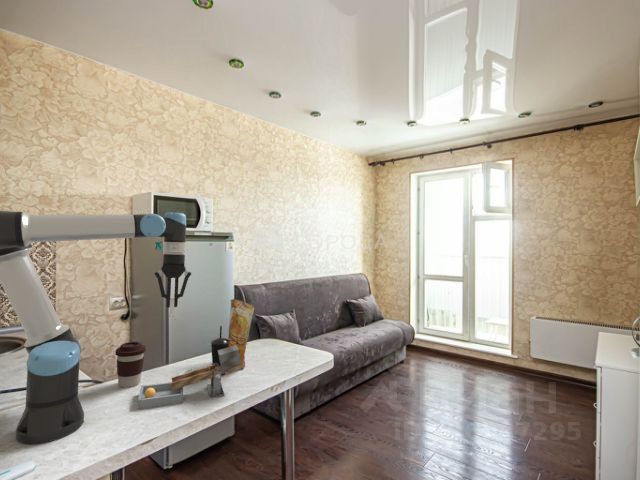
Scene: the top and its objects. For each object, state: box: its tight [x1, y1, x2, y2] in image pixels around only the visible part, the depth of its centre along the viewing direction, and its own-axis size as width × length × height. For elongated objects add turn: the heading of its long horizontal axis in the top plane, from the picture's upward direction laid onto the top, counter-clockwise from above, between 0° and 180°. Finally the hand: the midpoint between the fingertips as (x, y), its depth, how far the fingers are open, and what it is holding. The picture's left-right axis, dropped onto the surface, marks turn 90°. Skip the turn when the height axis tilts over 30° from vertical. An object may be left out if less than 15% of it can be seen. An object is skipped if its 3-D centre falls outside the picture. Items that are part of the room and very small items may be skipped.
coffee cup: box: [115, 341, 147, 388], centre depth 125 cm, size 10×10×15 cm
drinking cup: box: [210, 325, 230, 377], centre depth 137 cm, size 8×8×20 cm
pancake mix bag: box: [227, 298, 256, 370], centre depth 150 cm, size 7×19×28 cm, turn 40°
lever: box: [171, 345, 242, 390], centre depth 123 cm, size 24×11×7 cm, turn 113°
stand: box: [206, 362, 225, 399], centre depth 122 cm, size 5×10×9 cm, turn 24°
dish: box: [136, 381, 184, 410], centre depth 115 cm, size 14×12×3 cm
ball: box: [144, 388, 155, 398], centre depth 113 cm, size 3×3×3 cm
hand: (171, 315), depth 125 cm, fingers closed
